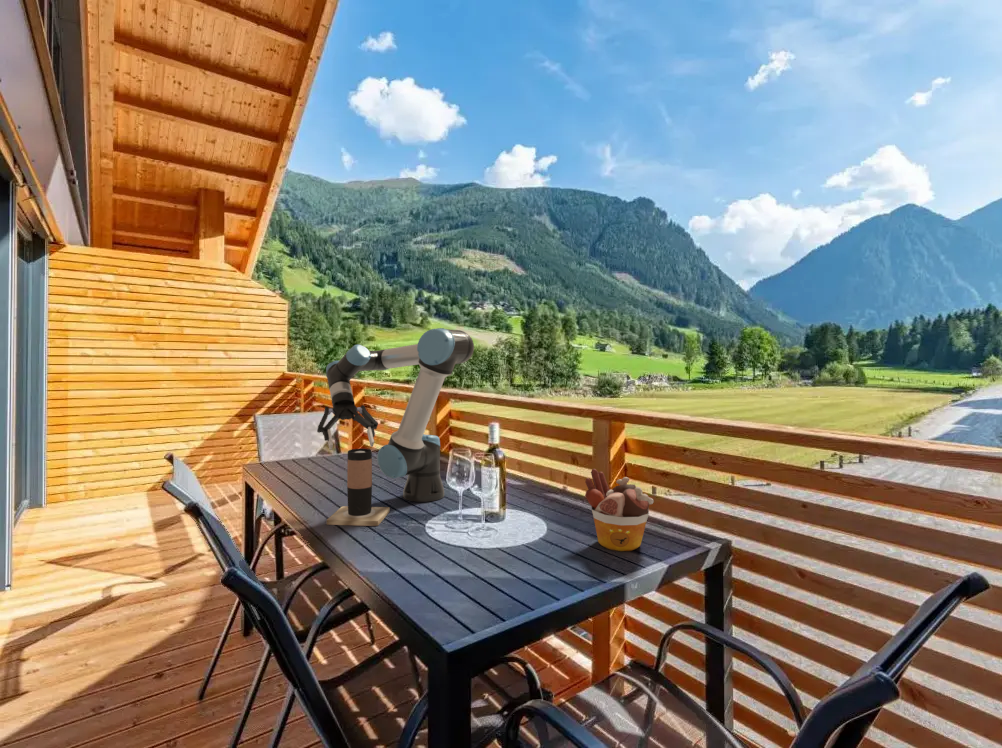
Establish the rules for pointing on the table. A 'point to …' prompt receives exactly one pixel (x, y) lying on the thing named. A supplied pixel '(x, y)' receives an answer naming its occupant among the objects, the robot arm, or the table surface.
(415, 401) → the robot arm
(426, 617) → the table surface
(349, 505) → the travel mug
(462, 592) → the table surface
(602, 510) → the bucket of meat
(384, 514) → the coaster board
